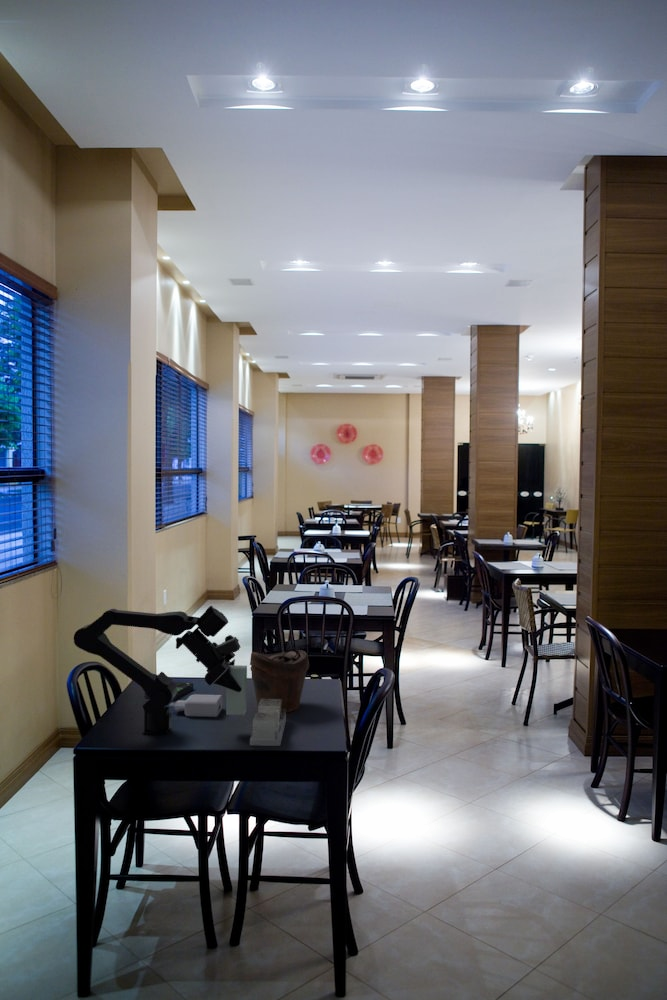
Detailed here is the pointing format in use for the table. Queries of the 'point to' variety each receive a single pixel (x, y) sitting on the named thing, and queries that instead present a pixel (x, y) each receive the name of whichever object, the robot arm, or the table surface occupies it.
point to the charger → (200, 705)
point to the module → (234, 699)
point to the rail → (268, 723)
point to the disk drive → (181, 689)
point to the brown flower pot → (280, 676)
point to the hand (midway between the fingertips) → (241, 688)
